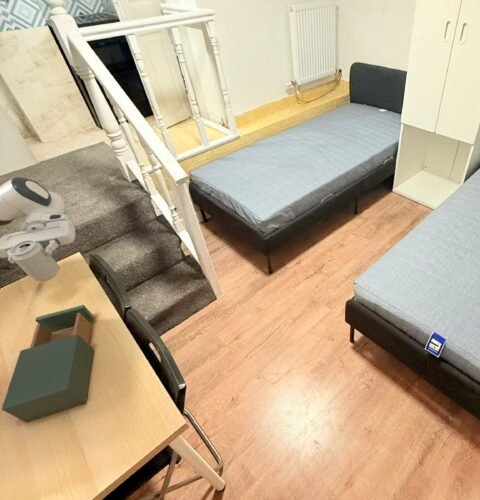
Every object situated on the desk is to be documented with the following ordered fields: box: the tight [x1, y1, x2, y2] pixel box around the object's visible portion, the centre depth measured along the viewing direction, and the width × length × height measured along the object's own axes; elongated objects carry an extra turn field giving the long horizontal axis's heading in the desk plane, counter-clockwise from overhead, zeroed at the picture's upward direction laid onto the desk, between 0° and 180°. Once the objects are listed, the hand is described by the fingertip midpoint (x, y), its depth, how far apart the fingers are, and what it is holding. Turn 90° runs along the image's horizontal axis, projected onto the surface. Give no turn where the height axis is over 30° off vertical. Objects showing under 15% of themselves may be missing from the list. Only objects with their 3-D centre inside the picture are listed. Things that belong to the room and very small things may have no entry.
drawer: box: [29, 304, 96, 348], centre depth 94 cm, size 16×12×7 cm
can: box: [10, 240, 61, 283], centre depth 99 cm, size 8×8×12 cm
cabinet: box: [1, 335, 95, 423], centre depth 85 cm, size 16×14×9 cm
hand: (29, 257), depth 97 cm, fingers closed on can, 7 cm apart
